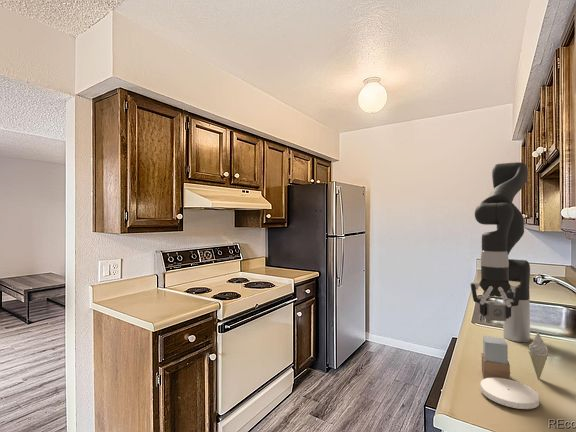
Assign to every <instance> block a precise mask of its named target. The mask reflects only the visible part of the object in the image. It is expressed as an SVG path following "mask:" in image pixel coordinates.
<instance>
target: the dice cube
mask: <svg viewBox="0 0 576 432" xmlns="http://www.w3.org/2000/svg"><path fill="white" fill-rule="evenodd" d="M484 304H485V316H482V317H483V318H485V319H487V320H488V321H491V322H493V321H494V322H495V321H496V322H503V321H506V305H504V304H503V302H500V301H499V300H497V301H496V300H486V301H485V303H484Z"/></svg>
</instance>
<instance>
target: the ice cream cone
mask: <svg viewBox="0 0 576 432" xmlns="http://www.w3.org/2000/svg"><path fill="white" fill-rule="evenodd" d="M532 340H533V341H532V342H531V343H530V344H528V347H529V348H528V354H529V357H530V360H531V362H532V366H533V368H534V372H535V375H536V378H537V379H538V380H540V379H541V376H542V373H543V370H544V367H545V365H546V362H547V359H548V357H549V350H548V348H547V347H548V346H547V345H545V344H544V339H543V338H542V337H541V335H540V333H539V331H537V332H536V335H535V337H534V338H532Z"/></svg>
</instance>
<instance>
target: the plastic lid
mask: <svg viewBox="0 0 576 432" xmlns="http://www.w3.org/2000/svg"><path fill="white" fill-rule="evenodd" d="M479 385H480V387H479V389H480V392H481V393H482V394H483V395H484V396H485V397H486V398H487V399H489V400H491V401H493V402H495V403H496V404H499V405H502V406H505V407H509V408H513V409H519V410H520V409H521V410H532V409H535V408H538V407H539V405H540V395H539V393H538V392H537V391H536V390H534V389H533V387H530V386H528V385H526V384H524V383H521V382H520V381H516V380H512V379H510V380H509V379H505V378H495V377H494V378H493V377H492V378H486V379H482V380H480V383H479Z"/></svg>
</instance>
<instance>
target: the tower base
mask: <svg viewBox="0 0 576 432" xmlns="http://www.w3.org/2000/svg"><path fill="white" fill-rule="evenodd" d="M481 373H482V378H483V379H486V378H492V377H493V378H494V377H495V378H505V379H509V380H511V365H510V362H509V361H508V364H502V363H495V362H489V361H485V358H484V354H483V352H481ZM483 379H482V380H483Z"/></svg>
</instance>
